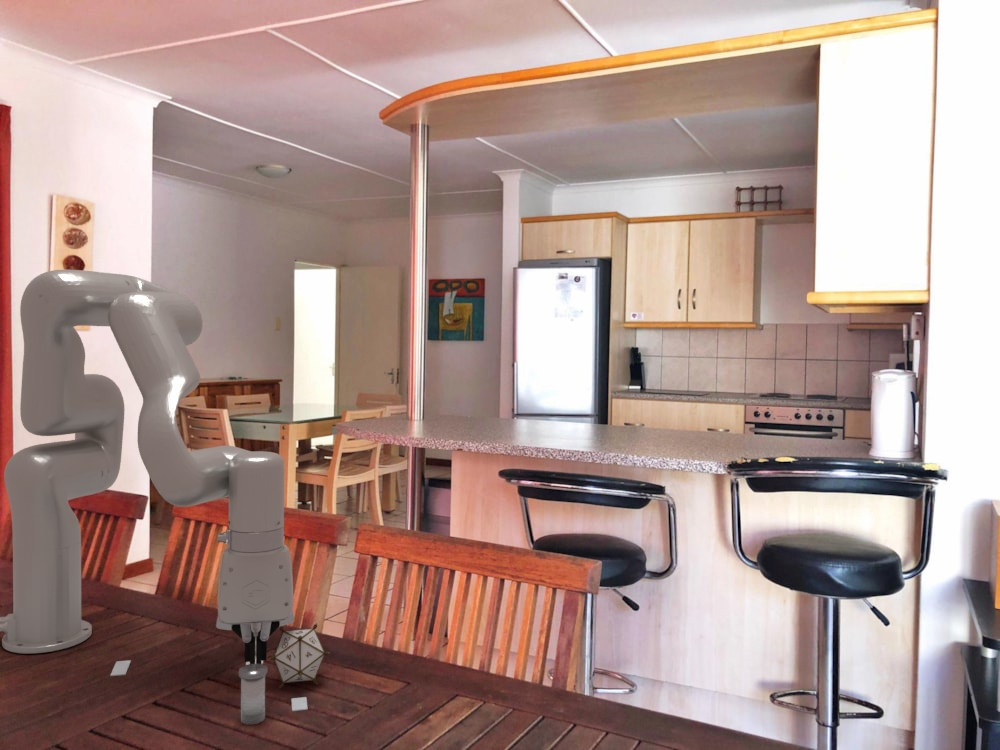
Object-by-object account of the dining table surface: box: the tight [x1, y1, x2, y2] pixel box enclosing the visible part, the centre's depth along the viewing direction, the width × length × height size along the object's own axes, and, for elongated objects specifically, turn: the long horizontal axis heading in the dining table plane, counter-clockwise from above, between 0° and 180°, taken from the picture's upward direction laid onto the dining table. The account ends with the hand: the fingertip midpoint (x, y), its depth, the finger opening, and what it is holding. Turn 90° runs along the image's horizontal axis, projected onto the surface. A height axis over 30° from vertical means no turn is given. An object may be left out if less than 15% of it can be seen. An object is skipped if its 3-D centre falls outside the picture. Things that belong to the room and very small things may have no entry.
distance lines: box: [110, 656, 309, 712], centre depth 115 cm, size 27×22×1 cm
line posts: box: [238, 623, 269, 726], centre depth 116 cm, size 4×26×7 cm, turn 16°
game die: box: [267, 623, 331, 689], centre depth 116 cm, size 9×8×10 cm
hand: (255, 665), depth 116 cm, fingers closed
